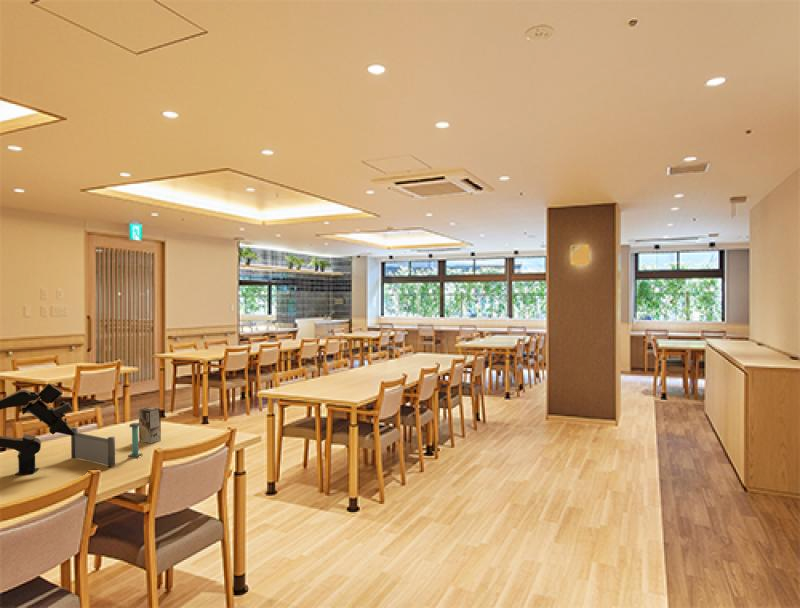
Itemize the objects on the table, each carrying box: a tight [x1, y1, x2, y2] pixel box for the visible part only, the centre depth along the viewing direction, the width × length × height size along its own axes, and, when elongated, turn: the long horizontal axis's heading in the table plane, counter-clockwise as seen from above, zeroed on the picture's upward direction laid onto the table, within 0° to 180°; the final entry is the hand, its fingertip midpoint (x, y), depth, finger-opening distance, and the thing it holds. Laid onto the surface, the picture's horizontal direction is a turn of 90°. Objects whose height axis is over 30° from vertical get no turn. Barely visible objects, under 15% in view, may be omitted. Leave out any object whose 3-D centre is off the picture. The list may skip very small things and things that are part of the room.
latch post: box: [127, 422, 143, 458], centre depth 240 cm, size 5×3×15 cm, turn 87°
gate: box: [70, 426, 116, 467], centre depth 232 cm, size 29×3×13 cm, turn 62°
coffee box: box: [138, 406, 162, 444], centre depth 266 cm, size 9×6×16 cm
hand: (74, 434), depth 228 cm, fingers closed
